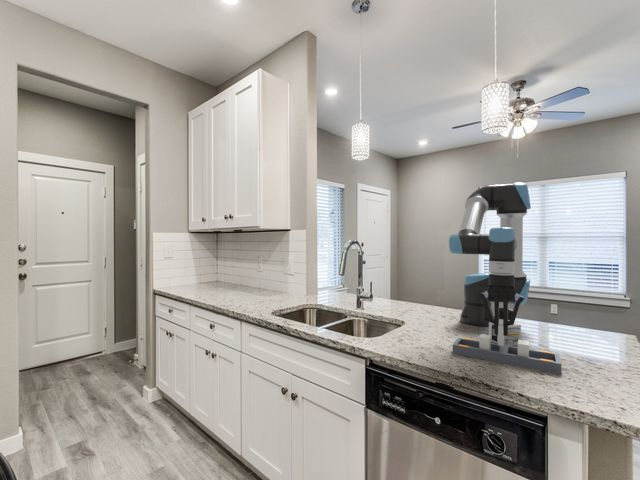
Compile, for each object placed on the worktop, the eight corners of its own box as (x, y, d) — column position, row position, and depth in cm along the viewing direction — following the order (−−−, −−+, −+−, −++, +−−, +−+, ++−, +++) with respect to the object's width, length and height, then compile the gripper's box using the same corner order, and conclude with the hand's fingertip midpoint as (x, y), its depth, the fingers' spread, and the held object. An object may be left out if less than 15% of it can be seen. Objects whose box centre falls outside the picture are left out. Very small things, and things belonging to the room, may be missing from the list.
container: (504, 346, 118) (504, 311, 118) (488, 340, 125) (488, 307, 125) (521, 345, 120) (521, 310, 120) (504, 338, 127) (504, 306, 127)
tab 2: (518, 354, 106) (518, 339, 106) (528, 356, 104) (529, 341, 104) (517, 359, 102) (517, 343, 102) (528, 361, 100) (528, 345, 100)
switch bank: (458, 345, 119) (458, 336, 119) (558, 363, 102) (559, 353, 102) (452, 353, 110) (452, 344, 110) (561, 374, 94) (561, 363, 94)
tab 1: (481, 348, 112) (481, 333, 112) (490, 349, 110) (491, 335, 110) (479, 352, 108) (479, 337, 108) (489, 354, 106) (489, 339, 106)
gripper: (478, 273, 107) (477, 344, 107) (524, 276, 100) (523, 351, 100) (481, 271, 113) (480, 338, 113) (524, 274, 106) (524, 345, 106)
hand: (500, 344), depth 107 cm, fingers closed
